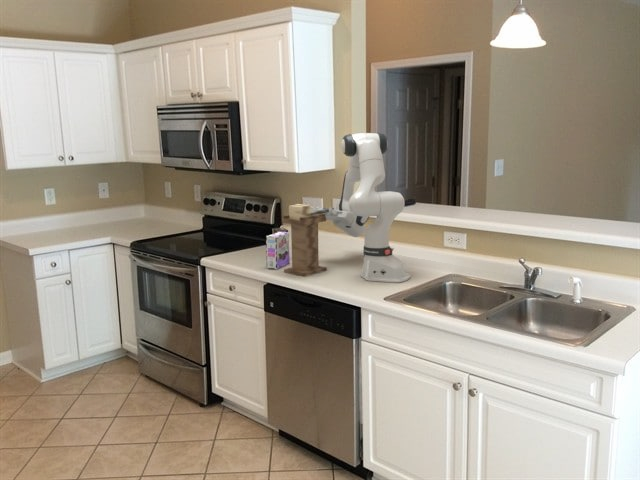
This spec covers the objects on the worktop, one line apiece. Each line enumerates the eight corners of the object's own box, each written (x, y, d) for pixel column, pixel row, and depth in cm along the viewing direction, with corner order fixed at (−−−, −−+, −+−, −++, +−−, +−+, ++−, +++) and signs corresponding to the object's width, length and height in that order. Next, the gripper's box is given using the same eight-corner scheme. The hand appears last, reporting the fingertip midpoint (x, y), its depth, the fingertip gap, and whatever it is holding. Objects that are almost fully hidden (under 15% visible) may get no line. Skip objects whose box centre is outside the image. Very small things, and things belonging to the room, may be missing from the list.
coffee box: (289, 260, 307) (288, 229, 304) (277, 261, 305) (276, 230, 302) (284, 256, 316) (283, 227, 313) (272, 258, 313) (271, 228, 310)
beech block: (326, 209, 295) (325, 198, 294) (338, 211, 290) (338, 199, 289) (289, 218, 277) (288, 205, 275) (301, 220, 271) (300, 207, 270)
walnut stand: (307, 266, 293) (306, 211, 288) (326, 270, 285) (325, 213, 279) (284, 272, 282) (282, 215, 276) (303, 276, 273) (302, 217, 268)
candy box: (276, 269, 287) (275, 236, 284) (266, 268, 289) (265, 235, 286) (290, 263, 299) (289, 231, 296) (279, 262, 302) (278, 231, 299)
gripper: (328, 212, 306) (312, 201, 296) (359, 216, 293) (343, 204, 283) (324, 223, 305) (308, 213, 295) (355, 227, 291) (339, 216, 282)
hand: (325, 209), depth 289 cm, fingers closed on beech block, 2 cm apart
